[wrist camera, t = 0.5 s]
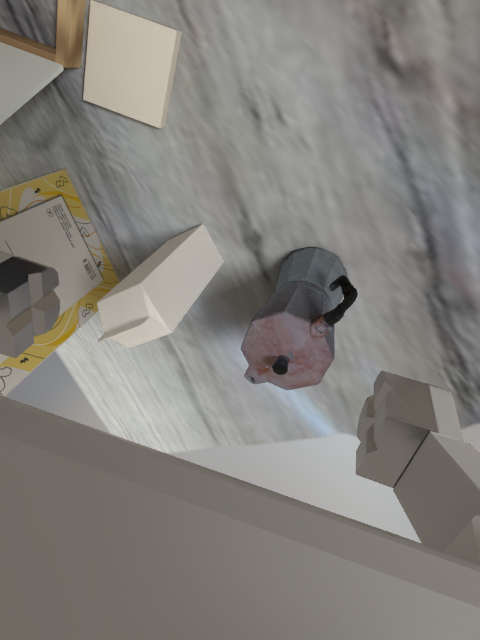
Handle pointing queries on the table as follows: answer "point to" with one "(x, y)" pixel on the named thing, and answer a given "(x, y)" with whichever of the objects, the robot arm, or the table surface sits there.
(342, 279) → the moka pot
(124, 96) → the tile
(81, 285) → the pasta box
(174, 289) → the milk
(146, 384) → the table surface
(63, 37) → the cold frame
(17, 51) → the propped lid
